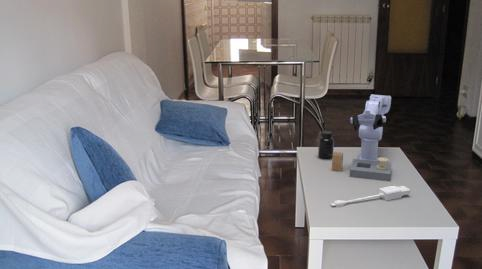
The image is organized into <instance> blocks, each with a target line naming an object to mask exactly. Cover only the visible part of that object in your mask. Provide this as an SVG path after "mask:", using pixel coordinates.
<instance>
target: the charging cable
mask: <svg viewBox="0 0 482 269" xmlns="http://www.w3.org/2000/svg"><path fill="white" fill-rule="evenodd" d="M406 195H411V189H409V188H408V187H406V186H404V185H400V186H396V185H390V186H385V187H380V188H378V190H377V194H375V195H374V194H373V195H369V196H364V197H358V198H355V199H349V200H344V199H343V200H341V199H338V200H333V202H332V203H329V205H330V206H331V207H336V208H339V207H344V206H345V205H346V204H350V203H354V202H359V201H364V200H369V199H373V198H374V199H375V198H381V199H382V200H384V201H391V200H397V199H401V198H402V196H406Z"/></svg>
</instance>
